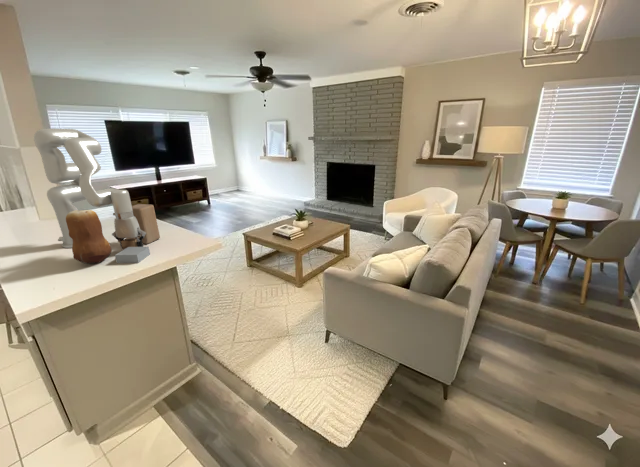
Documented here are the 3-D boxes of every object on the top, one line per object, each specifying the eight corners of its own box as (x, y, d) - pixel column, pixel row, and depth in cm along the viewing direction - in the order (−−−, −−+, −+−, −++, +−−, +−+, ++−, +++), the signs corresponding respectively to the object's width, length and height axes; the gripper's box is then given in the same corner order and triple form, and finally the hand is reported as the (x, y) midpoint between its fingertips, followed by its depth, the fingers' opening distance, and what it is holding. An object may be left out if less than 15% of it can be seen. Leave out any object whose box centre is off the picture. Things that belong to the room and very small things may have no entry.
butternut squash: (104, 254, 143) (91, 205, 135) (119, 259, 137) (105, 208, 128) (71, 264, 132) (54, 211, 123) (85, 271, 125) (67, 215, 117)
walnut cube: (123, 252, 145) (120, 241, 143) (130, 248, 151) (128, 237, 149) (135, 252, 145) (132, 241, 143) (142, 247, 151) (139, 237, 149)
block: (147, 244, 155) (139, 208, 148) (132, 243, 156) (123, 208, 150) (161, 238, 164) (154, 204, 157) (146, 237, 166) (138, 203, 159)
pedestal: (116, 263, 133) (114, 255, 131) (130, 254, 142) (128, 247, 141) (138, 262, 133) (136, 254, 132) (150, 254, 142) (148, 246, 141)
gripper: (101, 217, 138) (110, 251, 144) (138, 216, 138) (145, 250, 144) (111, 213, 145) (120, 245, 151) (146, 212, 145) (153, 245, 151)
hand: (132, 247), depth 147 cm, fingers open, 7 cm apart
